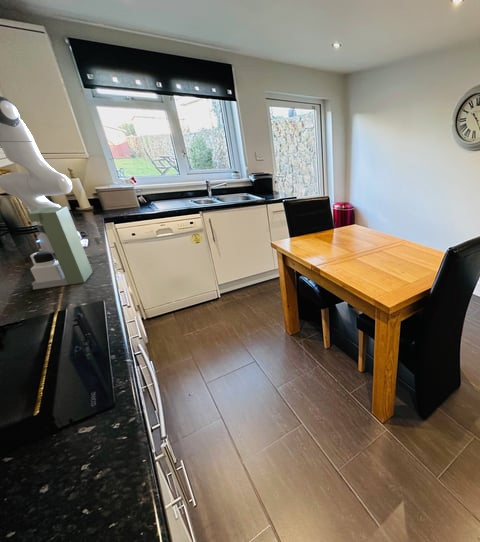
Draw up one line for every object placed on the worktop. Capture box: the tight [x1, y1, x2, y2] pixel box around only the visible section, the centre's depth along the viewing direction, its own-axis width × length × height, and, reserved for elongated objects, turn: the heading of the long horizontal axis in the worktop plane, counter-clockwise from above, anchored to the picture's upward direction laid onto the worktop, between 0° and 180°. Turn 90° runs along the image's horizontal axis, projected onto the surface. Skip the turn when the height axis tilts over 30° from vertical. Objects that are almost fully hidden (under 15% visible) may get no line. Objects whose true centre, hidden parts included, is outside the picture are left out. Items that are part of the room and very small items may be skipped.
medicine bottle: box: [29, 251, 65, 282], centre depth 112 cm, size 7×7×12 cm
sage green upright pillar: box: [27, 206, 93, 291], centre depth 111 cm, size 12×15×29 cm
